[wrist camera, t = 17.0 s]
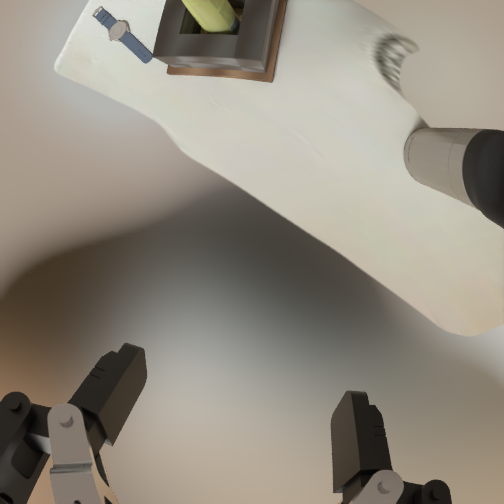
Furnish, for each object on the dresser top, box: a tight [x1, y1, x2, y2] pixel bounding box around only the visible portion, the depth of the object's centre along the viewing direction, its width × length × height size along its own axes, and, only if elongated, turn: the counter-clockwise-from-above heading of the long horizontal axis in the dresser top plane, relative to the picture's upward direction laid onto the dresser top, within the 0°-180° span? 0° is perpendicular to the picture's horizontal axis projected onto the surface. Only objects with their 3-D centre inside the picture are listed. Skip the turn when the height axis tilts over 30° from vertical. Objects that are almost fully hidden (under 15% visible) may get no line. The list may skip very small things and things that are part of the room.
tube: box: [182, 0, 241, 35], centre depth 23 cm, size 6×5×20 cm
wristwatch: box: [92, 6, 153, 63], centre depth 35 cm, size 4×20×1 cm, turn 41°
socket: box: [152, 0, 287, 83], centre depth 30 cm, size 16×16×9 cm
